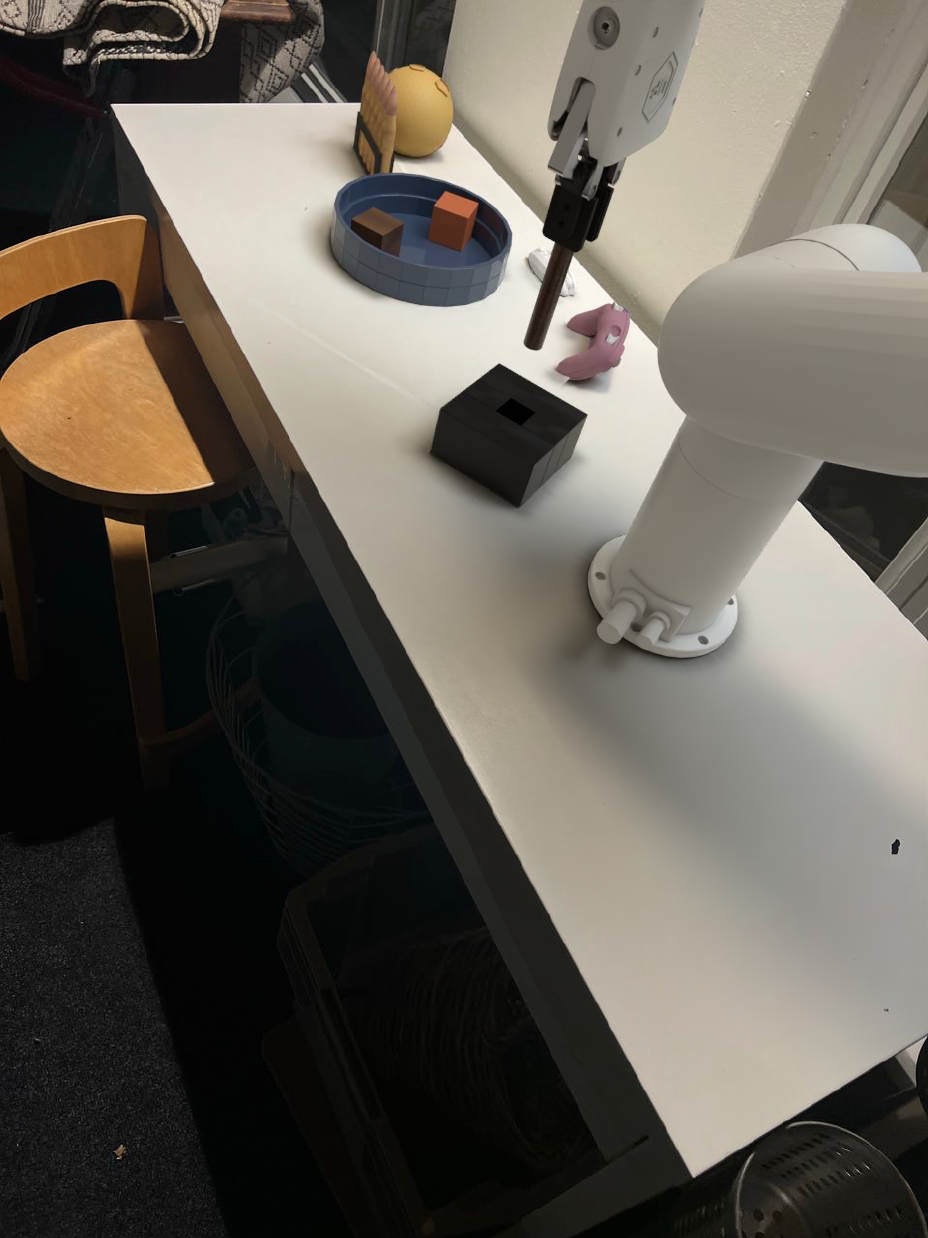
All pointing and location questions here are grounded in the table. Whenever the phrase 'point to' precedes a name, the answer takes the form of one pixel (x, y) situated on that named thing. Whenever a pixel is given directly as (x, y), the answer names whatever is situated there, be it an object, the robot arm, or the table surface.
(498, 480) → the stick stand
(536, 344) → the stirring stick
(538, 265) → the white ridged capsule
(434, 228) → the terracotta block
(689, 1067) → the table surface
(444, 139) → the stress ball
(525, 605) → the table surface
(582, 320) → the video game controller
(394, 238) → the walnut block
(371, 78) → the ammunition clip
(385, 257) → the bowl
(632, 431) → the table surface
